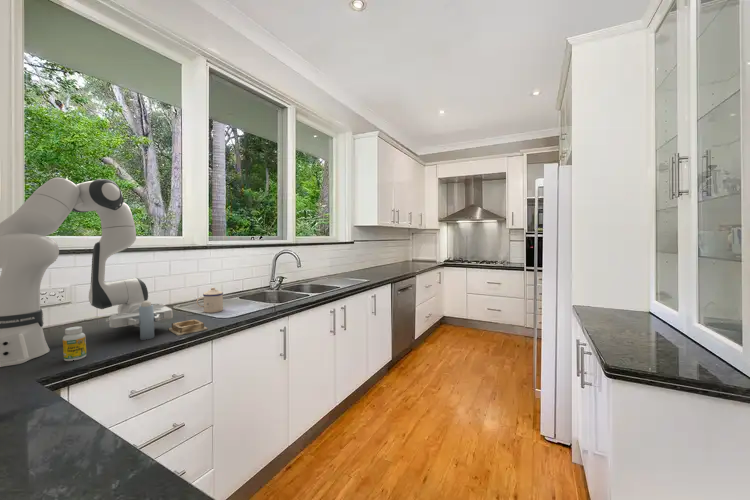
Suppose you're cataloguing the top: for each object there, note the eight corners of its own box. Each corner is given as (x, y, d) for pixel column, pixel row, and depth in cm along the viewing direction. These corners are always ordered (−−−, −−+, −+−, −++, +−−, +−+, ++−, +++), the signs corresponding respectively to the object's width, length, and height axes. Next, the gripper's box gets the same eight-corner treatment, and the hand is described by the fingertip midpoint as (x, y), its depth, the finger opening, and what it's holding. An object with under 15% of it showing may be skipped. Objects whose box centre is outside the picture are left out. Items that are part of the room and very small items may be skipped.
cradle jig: (177, 335, 129) (177, 328, 128) (168, 329, 136) (168, 323, 136) (207, 329, 137) (207, 323, 137) (197, 324, 144) (197, 318, 144)
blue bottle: (142, 340, 123) (140, 302, 122) (138, 337, 126) (137, 300, 125) (155, 337, 126) (154, 300, 125) (152, 335, 129) (151, 299, 128)
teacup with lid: (222, 308, 175) (222, 285, 174) (224, 311, 167) (223, 288, 166) (196, 310, 169) (195, 287, 168) (197, 314, 161) (196, 290, 160)
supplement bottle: (84, 353, 110) (83, 324, 109) (88, 357, 106) (86, 327, 106) (62, 358, 106) (60, 328, 105) (65, 362, 102) (63, 331, 102)
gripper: (104, 311, 127) (111, 317, 117) (165, 302, 142) (177, 308, 132) (104, 327, 127) (112, 335, 118) (166, 317, 142) (177, 323, 133)
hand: (147, 321), depth 125 cm, fingers open, 5 cm apart
